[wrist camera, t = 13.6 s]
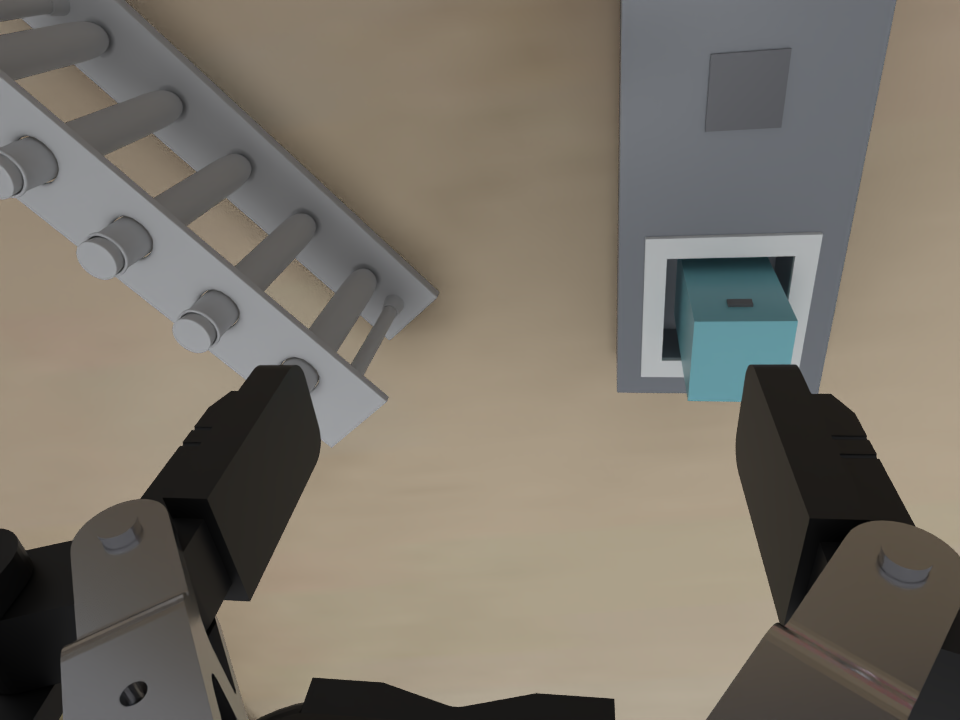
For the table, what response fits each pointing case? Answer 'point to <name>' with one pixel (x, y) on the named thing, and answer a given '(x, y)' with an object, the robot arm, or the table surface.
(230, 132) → the test tube rack
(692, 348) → the block
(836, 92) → the power strip
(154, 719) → the robot arm
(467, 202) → the table surface
